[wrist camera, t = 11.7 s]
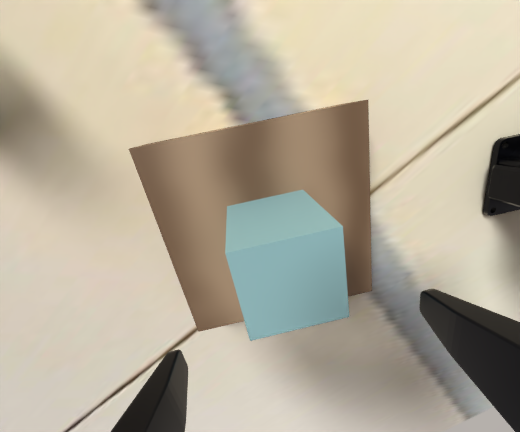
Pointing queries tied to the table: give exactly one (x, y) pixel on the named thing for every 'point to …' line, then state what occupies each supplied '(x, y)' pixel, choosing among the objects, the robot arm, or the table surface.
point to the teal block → (286, 263)
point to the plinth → (256, 194)
